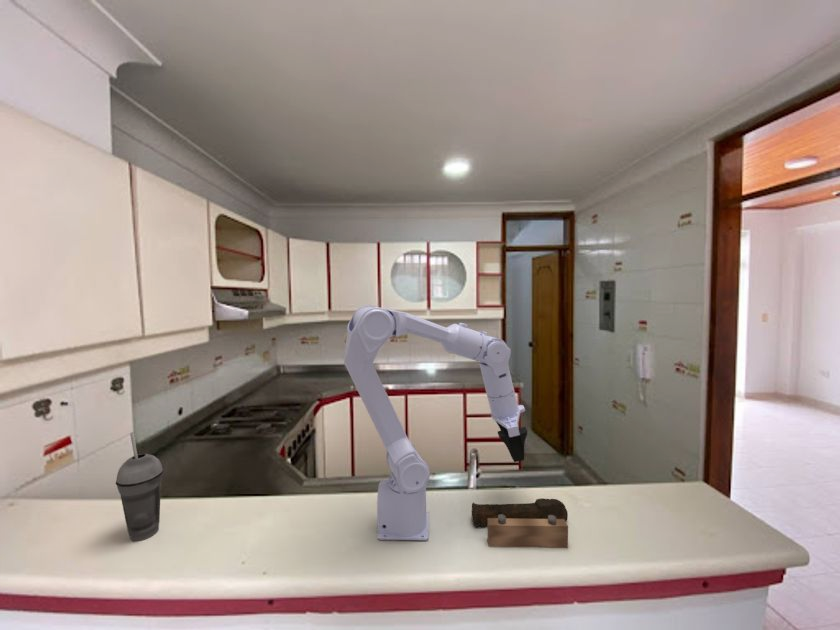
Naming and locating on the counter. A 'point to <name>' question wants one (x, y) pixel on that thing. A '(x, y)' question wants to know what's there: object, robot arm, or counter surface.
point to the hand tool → (519, 511)
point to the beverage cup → (140, 493)
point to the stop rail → (527, 532)
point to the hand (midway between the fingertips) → (514, 450)
